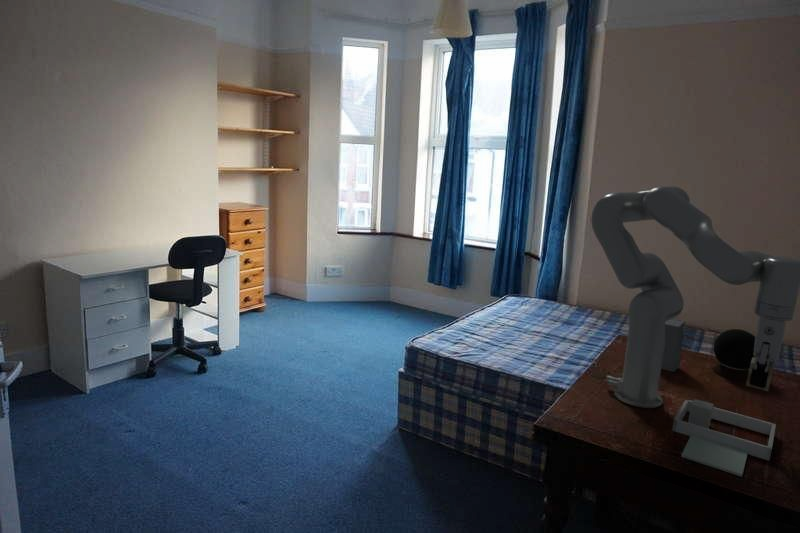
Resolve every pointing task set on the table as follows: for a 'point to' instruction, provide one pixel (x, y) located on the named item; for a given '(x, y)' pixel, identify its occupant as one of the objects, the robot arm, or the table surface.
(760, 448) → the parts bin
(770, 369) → the labelled block
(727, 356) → the dark rounded object
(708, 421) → the plain block
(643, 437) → the table surface
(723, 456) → the mat
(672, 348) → the skincare box
